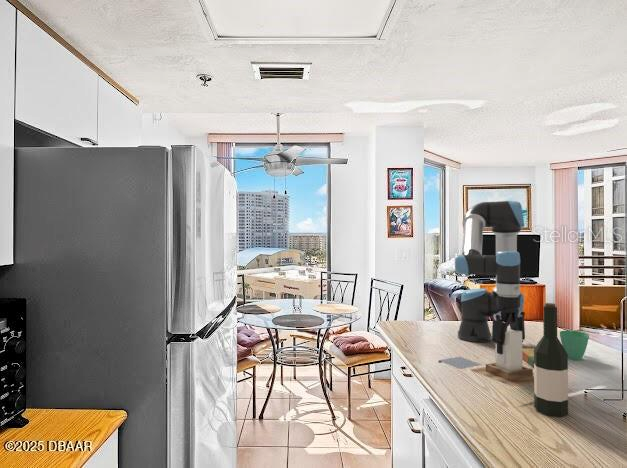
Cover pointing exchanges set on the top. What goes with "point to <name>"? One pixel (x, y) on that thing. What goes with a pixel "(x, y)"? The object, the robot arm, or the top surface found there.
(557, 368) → the wine bottle
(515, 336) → the cream block
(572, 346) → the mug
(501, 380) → the pocket tray
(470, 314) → the robot arm
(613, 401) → the top surface
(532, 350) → the carton
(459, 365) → the slate mat
